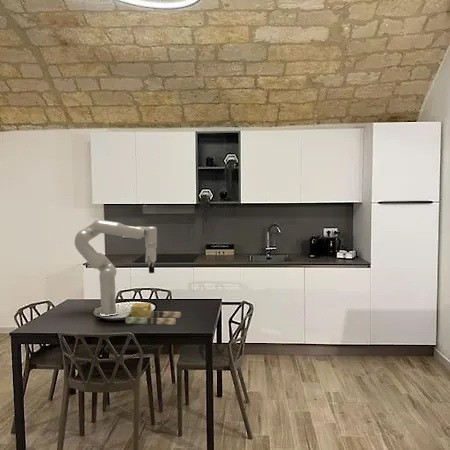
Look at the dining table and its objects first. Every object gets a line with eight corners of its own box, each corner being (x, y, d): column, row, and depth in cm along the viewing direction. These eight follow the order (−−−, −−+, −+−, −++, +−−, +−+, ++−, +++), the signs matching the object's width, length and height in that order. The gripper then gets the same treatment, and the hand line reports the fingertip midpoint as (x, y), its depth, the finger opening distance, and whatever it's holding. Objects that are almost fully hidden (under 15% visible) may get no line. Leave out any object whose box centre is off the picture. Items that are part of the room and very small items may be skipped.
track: (125, 323, 296) (125, 316, 295) (133, 316, 312) (133, 309, 311) (175, 324, 292) (175, 317, 292) (180, 317, 308) (180, 310, 308)
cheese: (147, 322, 297) (147, 306, 296) (130, 322, 298) (129, 306, 297) (151, 318, 307) (151, 302, 306) (135, 317, 308) (134, 302, 307)
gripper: (148, 243, 323) (149, 270, 324) (142, 246, 308) (142, 274, 310) (159, 243, 322) (160, 271, 324) (153, 246, 307) (154, 275, 309)
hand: (151, 272), depth 317 cm, fingers closed
